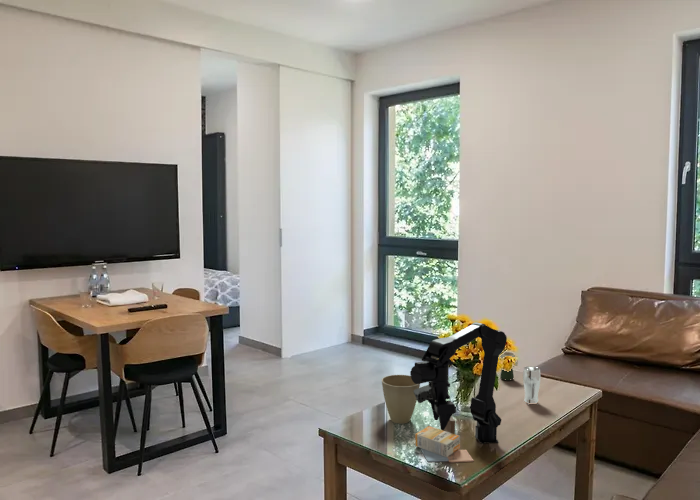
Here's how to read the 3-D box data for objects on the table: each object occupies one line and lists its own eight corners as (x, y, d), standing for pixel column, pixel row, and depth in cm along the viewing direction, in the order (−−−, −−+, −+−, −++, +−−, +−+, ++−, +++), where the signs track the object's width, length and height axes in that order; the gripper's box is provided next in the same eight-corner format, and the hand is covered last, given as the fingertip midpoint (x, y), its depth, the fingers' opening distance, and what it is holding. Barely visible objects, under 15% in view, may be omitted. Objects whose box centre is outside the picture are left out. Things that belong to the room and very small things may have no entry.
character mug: (521, 380, 263) (521, 354, 262) (513, 384, 258) (513, 357, 257) (501, 375, 271) (501, 350, 270) (493, 378, 266) (493, 352, 265)
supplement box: (428, 424, 194) (460, 435, 185) (428, 437, 195) (460, 448, 186) (414, 433, 188) (447, 444, 179) (415, 446, 189) (447, 458, 180)
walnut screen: (450, 432, 202) (450, 408, 201) (459, 445, 190) (460, 420, 189) (436, 432, 201) (437, 408, 201) (445, 446, 189) (445, 421, 189)
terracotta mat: (466, 450, 186) (466, 449, 186) (473, 461, 178) (473, 460, 178) (443, 451, 185) (443, 450, 185) (449, 462, 177) (449, 461, 177)
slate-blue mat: (449, 447, 189) (449, 446, 189) (457, 460, 179) (457, 459, 179) (420, 448, 188) (420, 447, 188) (427, 462, 178) (427, 460, 178)
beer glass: (541, 402, 234) (542, 367, 233) (537, 406, 228) (538, 371, 227) (525, 399, 238) (525, 365, 237) (520, 403, 232) (521, 369, 231)
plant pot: (375, 423, 210) (375, 383, 209) (389, 411, 223) (389, 372, 222) (412, 430, 203) (413, 388, 202) (424, 417, 217) (425, 377, 216)
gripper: (410, 371, 190) (409, 415, 191) (422, 388, 171) (421, 437, 172) (441, 370, 191) (440, 414, 192) (457, 387, 172) (456, 435, 173)
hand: (439, 424), depth 182 cm, fingers open, 8 cm apart
